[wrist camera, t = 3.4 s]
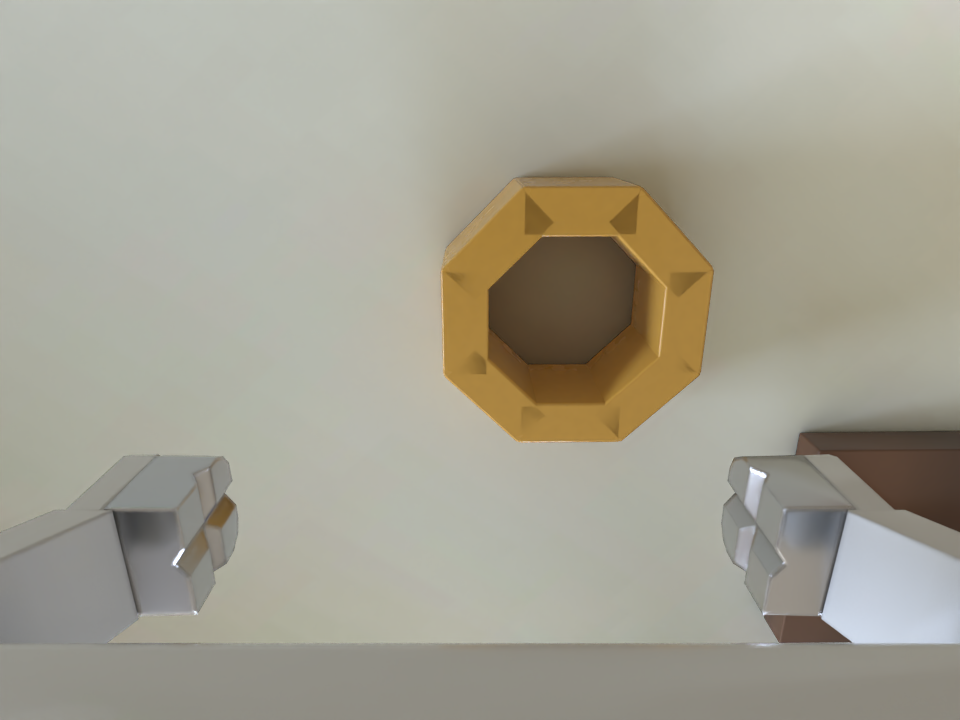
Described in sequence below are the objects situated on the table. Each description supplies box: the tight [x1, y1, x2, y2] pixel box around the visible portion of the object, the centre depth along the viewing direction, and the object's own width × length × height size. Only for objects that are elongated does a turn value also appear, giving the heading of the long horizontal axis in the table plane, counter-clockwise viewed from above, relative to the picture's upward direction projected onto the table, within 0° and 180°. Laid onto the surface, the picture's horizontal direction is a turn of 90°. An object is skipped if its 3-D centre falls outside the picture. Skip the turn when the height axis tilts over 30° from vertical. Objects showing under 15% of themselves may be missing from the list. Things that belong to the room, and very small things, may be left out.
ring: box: [441, 177, 714, 442], centre depth 20 cm, size 8×8×4 cm
